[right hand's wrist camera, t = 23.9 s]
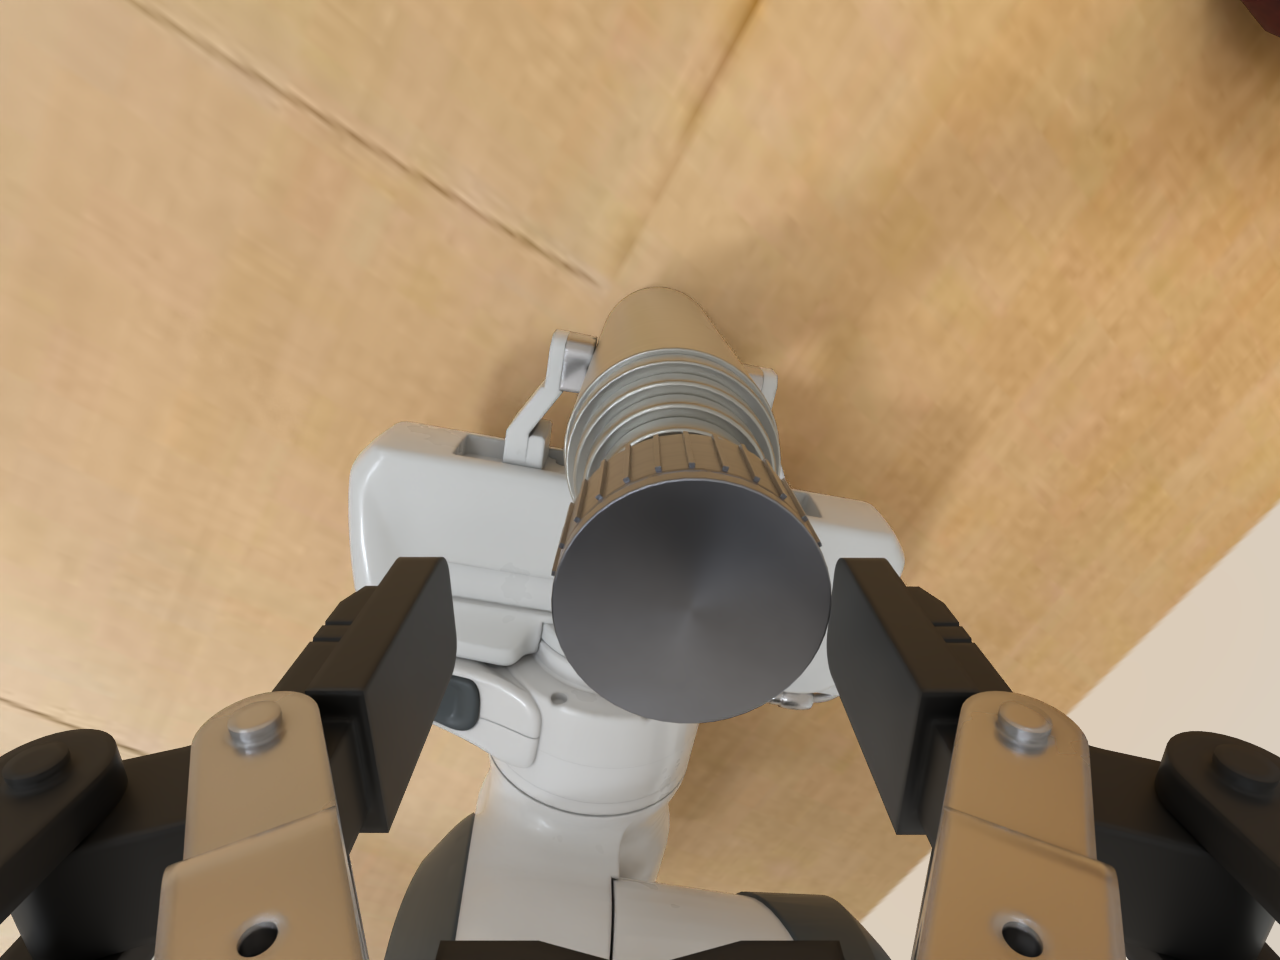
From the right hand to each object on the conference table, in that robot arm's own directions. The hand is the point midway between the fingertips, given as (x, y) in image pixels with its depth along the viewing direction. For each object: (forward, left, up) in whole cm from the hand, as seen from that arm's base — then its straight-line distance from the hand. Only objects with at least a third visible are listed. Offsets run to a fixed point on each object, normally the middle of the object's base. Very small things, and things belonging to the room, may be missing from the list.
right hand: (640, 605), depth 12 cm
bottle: (-1, +1, -21) cm, 21 cm away
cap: (-1, +1, +2) cm, 2 cm away
